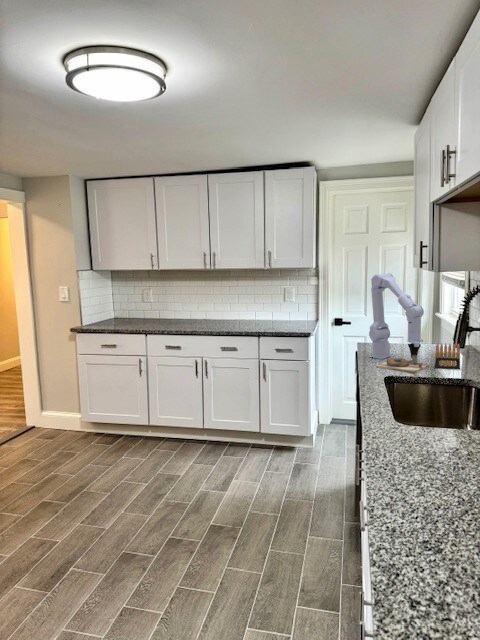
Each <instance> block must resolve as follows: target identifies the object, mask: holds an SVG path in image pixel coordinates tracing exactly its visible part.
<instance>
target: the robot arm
mask: <svg viewBox="0 0 480 640" xmlns="http://www.w3.org/2000/svg"><path fill="white" fill-rule="evenodd" d="M370 283H371V288H370V289H371V302H372V303H371V304H372V305H371V306H372V315H373V316H372V317H373V319H372V320H373V323H372V324H371V325H370V326H369V331H368V337H369V339H370V340H371V341H372V344H371V345H372V349H371V351H372V354H371V355H369V356H368V357H369V358H372V357H373V359H380V360H383V359H386V358H389V357H392V354H391V350H390V349H391V343H390V342H389V339H390V337H391V331H390V329H389V324H388V323H387V322H386V321H385V310H384V298H383V293H384V292H385V290H386V289H389V290H390V292H392V293H393V294H394V295H395V296H396V297H397V303H398V304H399V305H400V306H401V307H402V309H403V311H405V312H404V314H405V316H406V321H407V342H408V343H407V346H408V348H409V351H410V352H409V353H410V358H411V359H412V356H413V355H417V356H418V355H419V354H418V352H419V350H420V348H421V342H422V343H423V342H424V339H421V337H422V336H421V335H422V334H421V331H422V330H421V329H422V328H421V327H422V325H421V324H422V317H423V316H424V313H425V311H424V307H422V305H420V304H418V303H416V302H415V301H414V300H413V299H412V298H411V295H410V294H407V293H406V294H405V293H404V291H403V290H402V289H401V287H400V286H399V284H398V283H397V282H396V277H395V276H394V275H393V274H392V273H380V274H379V273H376V274H374V275H372V278H371V282H370Z"/></svg>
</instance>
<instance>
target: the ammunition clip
mask: <svg viewBox="0 0 480 640" xmlns="http://www.w3.org/2000/svg"><path fill="white" fill-rule="evenodd" d="M435 346H436V347H435V353H434V356H435V357H434V359H435V360H434V369H439V370H442V369H443V370H461V352H460V351H461V350H460V348H461V346H460V344H459V343H457V345H456V344H455V343H453V345H452V344H451V343H449V344H448V346H447V342H446V343H445V344H444V345H443V343H442V342H441V343H440V346H439V343H438V342H437V343H436V345H435Z"/></svg>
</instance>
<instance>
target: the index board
mask: <svg viewBox="0 0 480 640" xmlns="http://www.w3.org/2000/svg"><path fill="white" fill-rule="evenodd" d="M375 367H376V368H377V369H383V370H391V371H396V372H397V371H398V372H402V373H408V374H416V373H418V372H421V371H422V370H426V369H427V368H430V364H427V363H423V362H417V364H413V363H409V365H408V366H402V367H397V366H390V365H387V360H385V361H383V362H381V363H378V364H376V365H375Z"/></svg>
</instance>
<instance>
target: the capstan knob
mask: <svg viewBox="0 0 480 640" xmlns="http://www.w3.org/2000/svg"><path fill="white" fill-rule="evenodd" d="M411 359H412V360H408V359H405V358H389V359H387V360H386V361H387V365H390V366H397V367H402V366H408V365H409V363H413V364H417V363H418V354H417V355H413V356H412V358H411Z"/></svg>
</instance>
